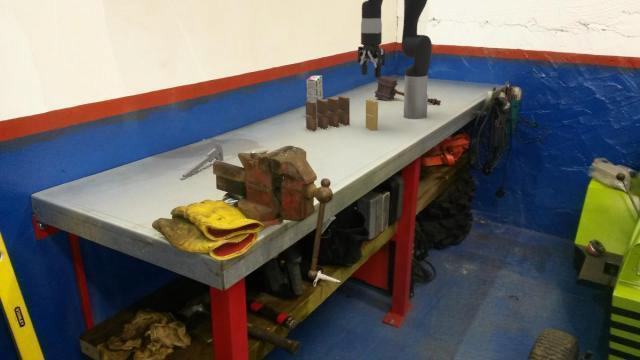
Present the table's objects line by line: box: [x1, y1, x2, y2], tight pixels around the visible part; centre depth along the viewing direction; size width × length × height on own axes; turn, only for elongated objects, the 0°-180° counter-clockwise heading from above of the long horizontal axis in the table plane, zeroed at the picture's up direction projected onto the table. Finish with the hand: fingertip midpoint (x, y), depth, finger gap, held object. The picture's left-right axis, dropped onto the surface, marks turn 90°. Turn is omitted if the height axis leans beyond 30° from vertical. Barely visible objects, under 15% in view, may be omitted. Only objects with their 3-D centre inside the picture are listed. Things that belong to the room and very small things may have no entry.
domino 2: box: [317, 98, 329, 130], centre depth 198 cm, size 2×5×11 cm, turn 30°
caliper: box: [179, 142, 225, 181], centre depth 154 cm, size 20×1×6 cm, turn 155°
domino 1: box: [304, 100, 318, 132], centre depth 196 cm, size 2×5×11 cm, turn 30°
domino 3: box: [326, 96, 340, 128], centre depth 200 cm, size 2×5×11 cm, turn 30°
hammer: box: [374, 75, 442, 106], centre depth 242 cm, size 7×33×10 cm, turn 56°
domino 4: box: [337, 95, 351, 127], centre depth 203 cm, size 2×5×11 cm, turn 30°
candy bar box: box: [305, 75, 324, 109], centre depth 217 cm, size 11×5×16 cm, turn 168°
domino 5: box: [365, 99, 379, 131], centre depth 195 cm, size 2×5×11 cm, turn 30°
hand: (370, 76), depth 190 cm, fingers open, 8 cm apart
